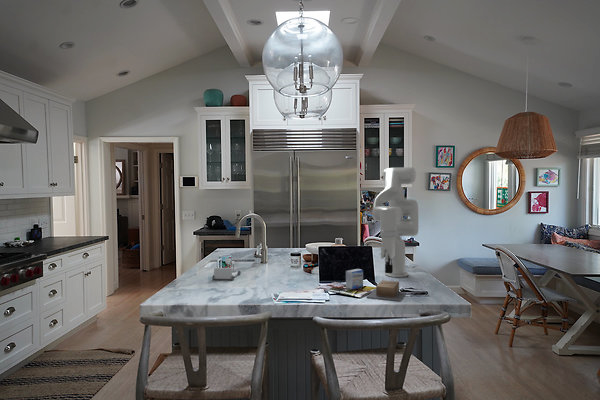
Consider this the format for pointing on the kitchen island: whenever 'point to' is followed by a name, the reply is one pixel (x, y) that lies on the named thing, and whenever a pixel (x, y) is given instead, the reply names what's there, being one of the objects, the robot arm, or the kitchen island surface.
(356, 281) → the medicine box
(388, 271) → the robot arm
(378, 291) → the brown wooden block
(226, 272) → the grey desk organizer
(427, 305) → the kitchen island surface
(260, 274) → the kitchen island surface
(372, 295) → the charcoal mat
